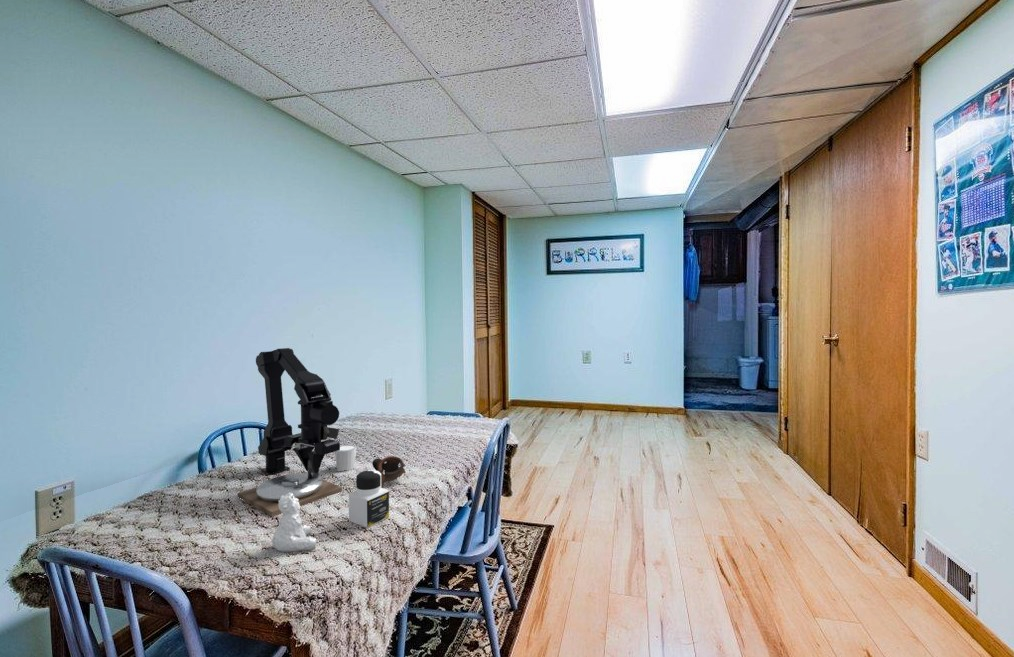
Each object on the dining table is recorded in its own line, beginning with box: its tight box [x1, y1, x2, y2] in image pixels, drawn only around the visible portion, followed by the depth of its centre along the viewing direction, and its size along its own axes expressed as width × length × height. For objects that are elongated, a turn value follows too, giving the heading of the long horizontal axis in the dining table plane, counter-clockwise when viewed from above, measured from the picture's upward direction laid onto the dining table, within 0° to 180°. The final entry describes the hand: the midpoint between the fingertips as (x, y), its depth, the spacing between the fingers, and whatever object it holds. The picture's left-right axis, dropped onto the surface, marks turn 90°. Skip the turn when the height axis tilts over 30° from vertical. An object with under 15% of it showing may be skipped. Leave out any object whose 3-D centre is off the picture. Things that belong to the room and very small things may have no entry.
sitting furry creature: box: [271, 493, 317, 553], centre depth 98 cm, size 10×9×12 cm
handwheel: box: [256, 458, 323, 502], centre depth 126 cm, size 17×17×7 cm
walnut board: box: [236, 478, 343, 518], centre depth 126 cm, size 20×20×1 cm
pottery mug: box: [371, 455, 406, 485], centre depth 138 cm, size 12×10×8 cm
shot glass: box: [334, 444, 357, 472], centre depth 147 cm, size 7×7×7 cm
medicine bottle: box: [348, 469, 390, 529], centre depth 111 cm, size 7×7×12 cm
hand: (312, 471), depth 132 cm, fingers open, 3 cm apart
